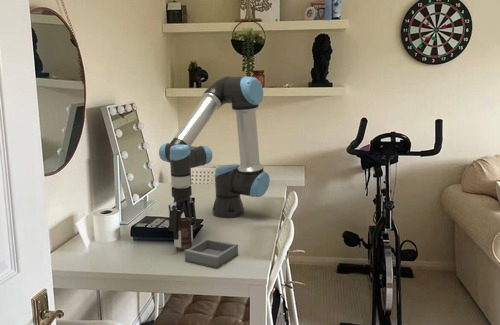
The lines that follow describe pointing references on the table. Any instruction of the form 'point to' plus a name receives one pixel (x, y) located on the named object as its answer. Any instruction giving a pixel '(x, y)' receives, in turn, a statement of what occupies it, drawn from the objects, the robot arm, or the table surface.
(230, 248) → the tray
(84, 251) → the table surface
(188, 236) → the box
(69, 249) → the table surface
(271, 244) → the table surface
